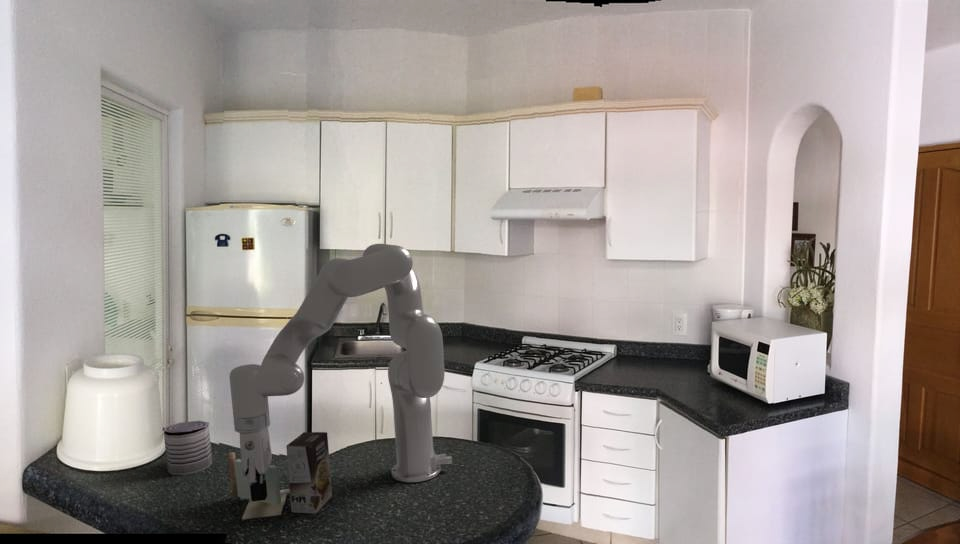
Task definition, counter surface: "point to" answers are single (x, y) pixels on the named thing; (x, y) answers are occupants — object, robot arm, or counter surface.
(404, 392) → the robot arm
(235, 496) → the frame
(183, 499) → the counter surface
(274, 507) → the board
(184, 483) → the counter surface
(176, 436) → the can
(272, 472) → the door
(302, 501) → the coffee box
